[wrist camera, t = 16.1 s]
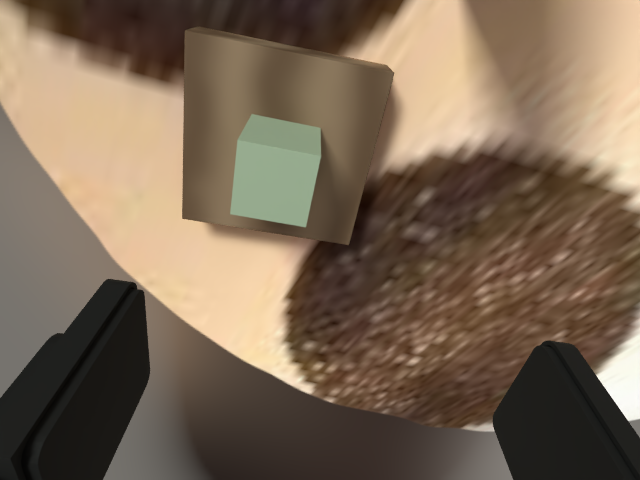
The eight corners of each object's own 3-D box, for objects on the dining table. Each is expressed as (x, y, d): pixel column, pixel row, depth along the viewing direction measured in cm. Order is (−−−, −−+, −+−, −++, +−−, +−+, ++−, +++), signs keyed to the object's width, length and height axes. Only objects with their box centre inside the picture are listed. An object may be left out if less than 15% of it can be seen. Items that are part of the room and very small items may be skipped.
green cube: (320, 127, 29) (321, 156, 24) (307, 189, 32) (305, 227, 27) (251, 113, 29) (237, 139, 24) (244, 178, 31) (230, 214, 26)
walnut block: (385, 64, 31) (394, 73, 28) (345, 222, 38) (348, 245, 35) (200, 26, 30) (184, 30, 26) (194, 197, 37) (182, 218, 33)
